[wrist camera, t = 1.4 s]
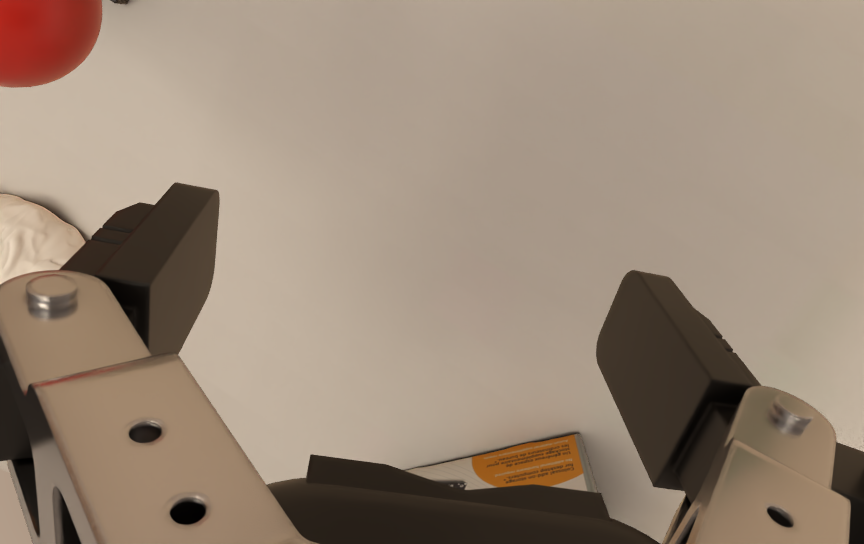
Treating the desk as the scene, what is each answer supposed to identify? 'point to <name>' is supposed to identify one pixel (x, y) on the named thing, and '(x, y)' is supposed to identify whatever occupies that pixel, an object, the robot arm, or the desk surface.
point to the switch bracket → (120, 1)
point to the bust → (33, 238)
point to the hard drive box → (519, 467)
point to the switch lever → (45, 39)
